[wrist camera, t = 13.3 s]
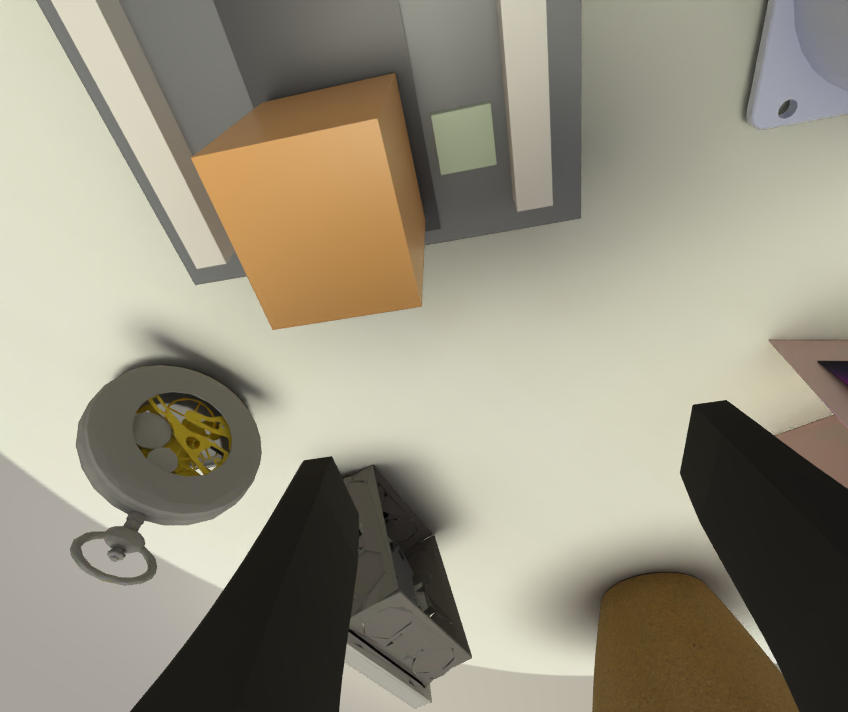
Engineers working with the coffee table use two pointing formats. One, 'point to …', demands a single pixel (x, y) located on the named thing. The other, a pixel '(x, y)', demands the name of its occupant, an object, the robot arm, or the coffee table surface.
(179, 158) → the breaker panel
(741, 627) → the plant pot
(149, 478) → the pocket watch
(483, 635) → the coffee table surface
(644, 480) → the coffee table surface
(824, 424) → the greeting card
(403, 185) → the block
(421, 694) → the electrical switch
